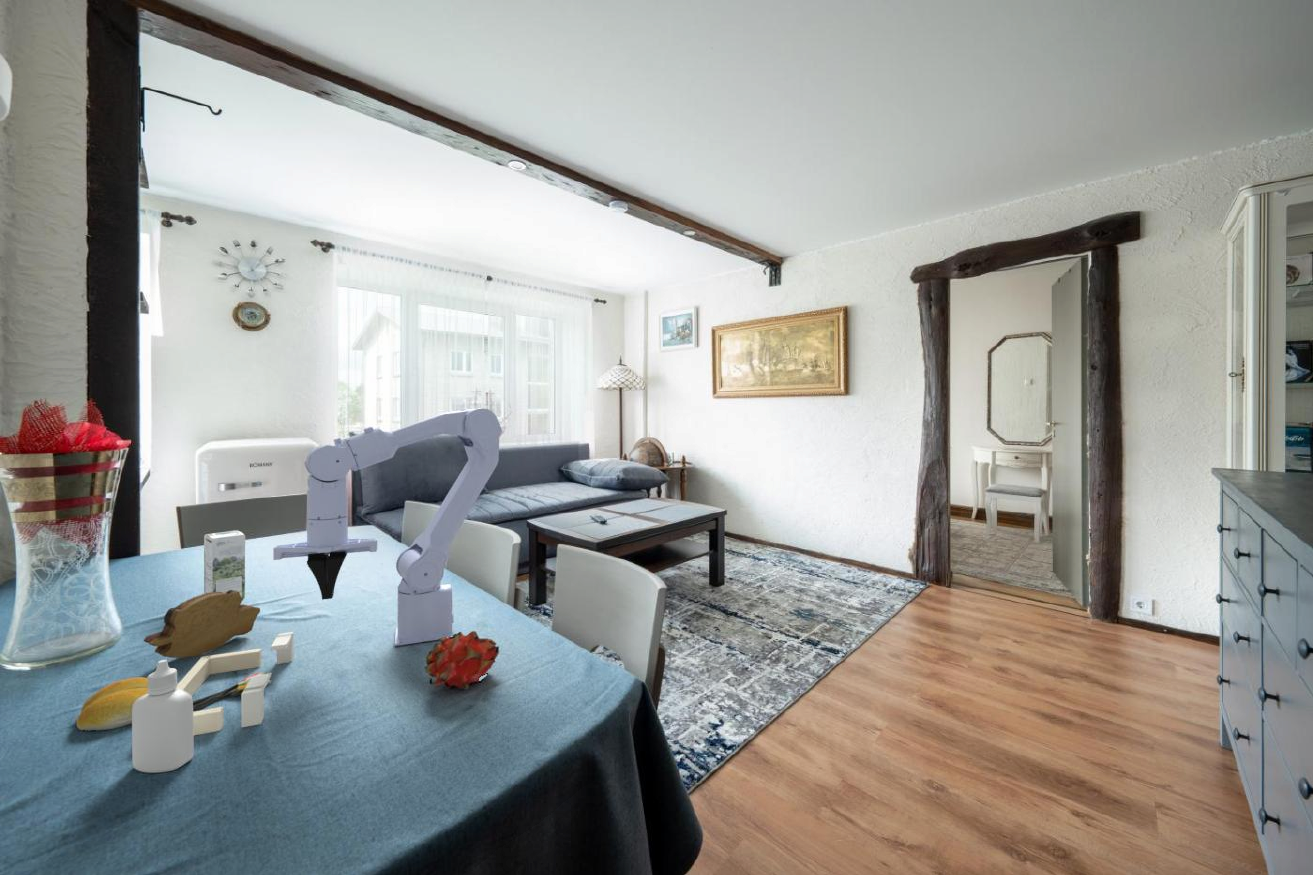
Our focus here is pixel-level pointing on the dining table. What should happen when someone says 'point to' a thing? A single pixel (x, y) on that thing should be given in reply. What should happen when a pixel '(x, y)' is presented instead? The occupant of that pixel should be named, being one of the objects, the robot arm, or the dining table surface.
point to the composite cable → (225, 693)
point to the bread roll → (112, 705)
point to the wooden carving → (203, 624)
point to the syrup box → (224, 562)
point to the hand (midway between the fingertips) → (327, 597)
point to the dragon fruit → (460, 660)
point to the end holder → (211, 665)
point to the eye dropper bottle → (162, 724)
